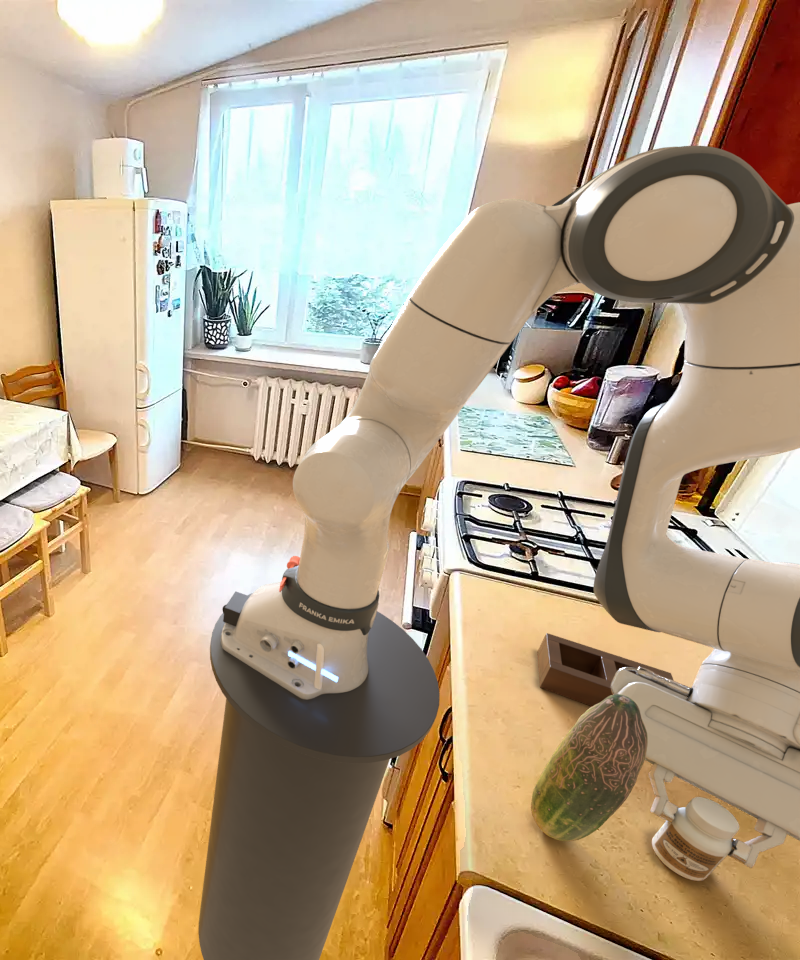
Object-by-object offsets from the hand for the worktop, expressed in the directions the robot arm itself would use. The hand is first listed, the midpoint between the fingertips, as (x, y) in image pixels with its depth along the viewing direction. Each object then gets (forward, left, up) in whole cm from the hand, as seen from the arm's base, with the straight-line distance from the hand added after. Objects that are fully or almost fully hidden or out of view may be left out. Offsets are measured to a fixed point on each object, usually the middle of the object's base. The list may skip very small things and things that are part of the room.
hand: (698, 839), depth 52 cm
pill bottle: (0, +1, -5) cm, 5 cm away
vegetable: (-11, -2, -5) cm, 12 cm away
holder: (-4, +24, -4) cm, 24 cm away
